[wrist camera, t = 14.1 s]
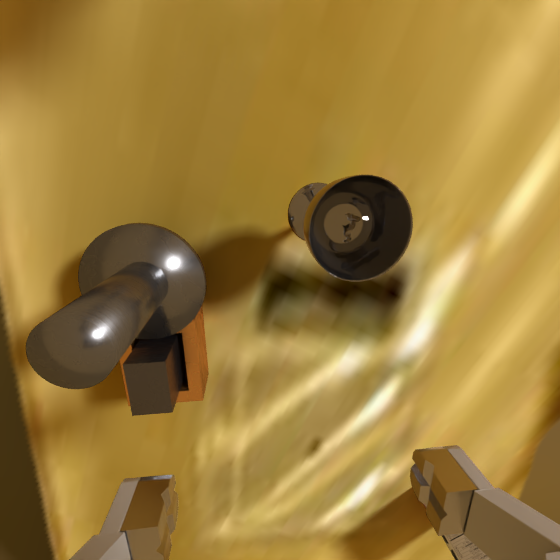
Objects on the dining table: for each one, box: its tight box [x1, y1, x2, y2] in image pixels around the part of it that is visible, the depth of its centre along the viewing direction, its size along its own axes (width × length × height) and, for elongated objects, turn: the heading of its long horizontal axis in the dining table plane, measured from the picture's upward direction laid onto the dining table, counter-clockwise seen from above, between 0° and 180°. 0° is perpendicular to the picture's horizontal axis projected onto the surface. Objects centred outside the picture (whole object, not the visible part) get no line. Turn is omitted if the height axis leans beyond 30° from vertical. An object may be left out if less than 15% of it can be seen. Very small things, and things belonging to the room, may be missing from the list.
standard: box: [26, 223, 208, 406], centre depth 29 cm, size 21×12×20 cm, turn 1°
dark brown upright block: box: [123, 333, 186, 416], centre depth 35 cm, size 6×4×10 cm, turn 1°
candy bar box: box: [424, 505, 491, 560], centre depth 46 cm, size 11×5×16 cm, turn 32°
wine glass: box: [288, 175, 413, 281], centre depth 30 cm, size 8×8×15 cm
